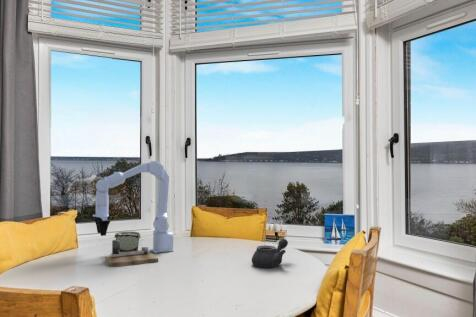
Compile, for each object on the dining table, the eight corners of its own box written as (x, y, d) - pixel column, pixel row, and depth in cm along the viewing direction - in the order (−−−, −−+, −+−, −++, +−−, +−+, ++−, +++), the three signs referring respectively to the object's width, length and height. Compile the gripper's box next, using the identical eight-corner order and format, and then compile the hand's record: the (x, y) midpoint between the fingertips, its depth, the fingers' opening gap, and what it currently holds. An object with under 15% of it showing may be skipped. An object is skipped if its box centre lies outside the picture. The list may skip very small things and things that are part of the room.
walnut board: (150, 255, 178) (151, 252, 178) (158, 261, 167) (158, 258, 167) (105, 260, 169) (105, 257, 169) (110, 267, 158) (110, 263, 158)
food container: (144, 252, 184) (144, 231, 184) (139, 255, 178) (140, 234, 178) (119, 251, 185) (119, 231, 185) (114, 254, 179) (114, 233, 179)
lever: (147, 251, 178) (147, 237, 178) (149, 253, 175) (149, 238, 175) (110, 255, 169) (110, 240, 170) (111, 257, 167) (112, 241, 167)
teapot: (277, 272, 153) (277, 246, 153) (245, 265, 162) (245, 241, 163) (299, 262, 168) (299, 239, 168) (269, 257, 177) (270, 235, 178)
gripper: (90, 203, 184) (90, 232, 184) (95, 206, 172) (95, 237, 171) (105, 203, 188) (105, 231, 188) (112, 206, 175) (111, 236, 175)
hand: (101, 234), depth 180 cm, fingers open, 7 cm apart
